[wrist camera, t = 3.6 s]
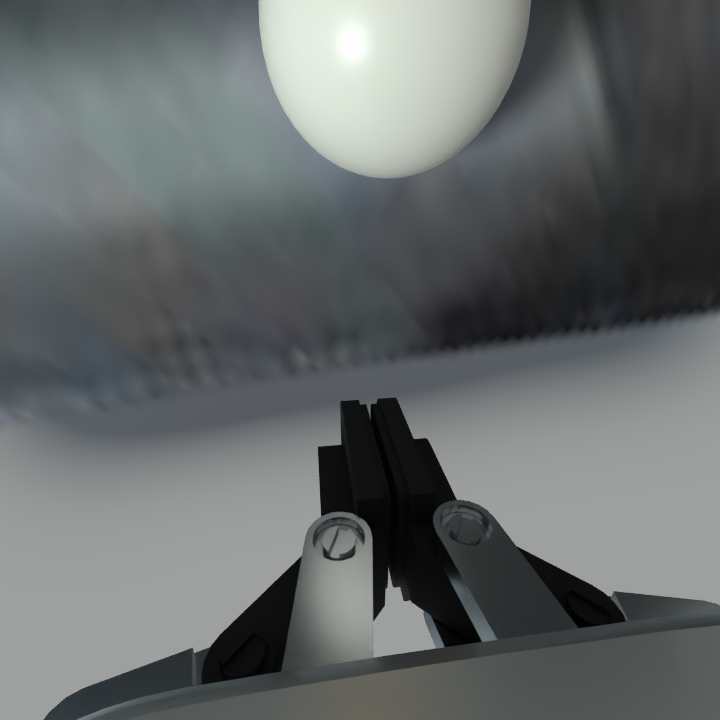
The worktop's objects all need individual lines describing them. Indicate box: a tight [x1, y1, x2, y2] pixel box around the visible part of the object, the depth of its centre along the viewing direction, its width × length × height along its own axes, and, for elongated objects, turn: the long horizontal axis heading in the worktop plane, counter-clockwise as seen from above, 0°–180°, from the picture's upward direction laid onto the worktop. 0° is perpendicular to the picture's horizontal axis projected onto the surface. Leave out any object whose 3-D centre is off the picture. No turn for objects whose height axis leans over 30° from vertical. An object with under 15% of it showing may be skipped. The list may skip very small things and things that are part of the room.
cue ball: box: [259, 0, 531, 179], centre depth 8 cm, size 6×6×6 cm
